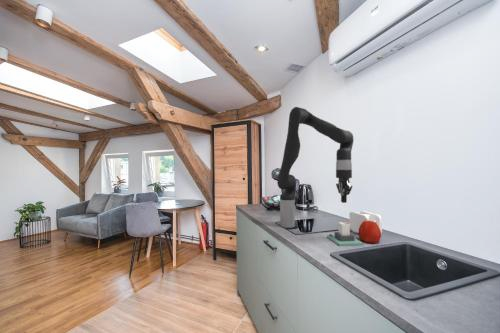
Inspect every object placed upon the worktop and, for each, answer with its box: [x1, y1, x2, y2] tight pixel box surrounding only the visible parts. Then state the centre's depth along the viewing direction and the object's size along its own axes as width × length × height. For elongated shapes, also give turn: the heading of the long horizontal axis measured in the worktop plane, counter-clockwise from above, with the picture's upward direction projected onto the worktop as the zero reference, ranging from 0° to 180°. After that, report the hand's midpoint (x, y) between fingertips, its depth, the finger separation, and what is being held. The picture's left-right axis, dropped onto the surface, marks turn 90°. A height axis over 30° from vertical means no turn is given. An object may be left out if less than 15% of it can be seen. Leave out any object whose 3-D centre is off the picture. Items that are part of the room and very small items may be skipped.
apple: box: [357, 221, 382, 244], centre depth 113 cm, size 10×10×10 cm
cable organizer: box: [349, 210, 383, 235], centre depth 127 cm, size 15×11×12 cm
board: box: [326, 231, 364, 247], centre depth 113 cm, size 14×12×4 cm
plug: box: [337, 221, 351, 236], centre depth 114 cm, size 4×4×8 cm
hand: (343, 202), depth 114 cm, fingers closed
